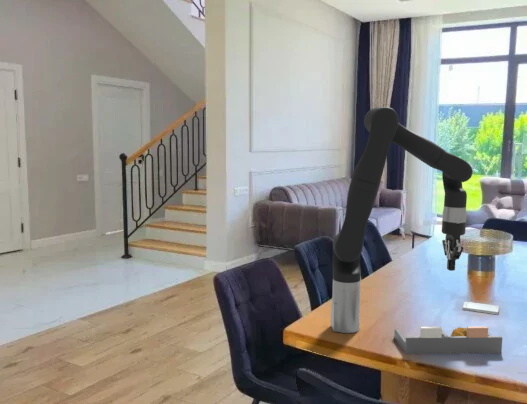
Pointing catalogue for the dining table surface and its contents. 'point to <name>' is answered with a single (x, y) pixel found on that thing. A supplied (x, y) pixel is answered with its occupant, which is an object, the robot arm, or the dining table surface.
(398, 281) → the dining table surface
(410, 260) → the dining table surface
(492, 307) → the hard drive
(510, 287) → the dining table surface
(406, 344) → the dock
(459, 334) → the bagel
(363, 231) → the robot arm
